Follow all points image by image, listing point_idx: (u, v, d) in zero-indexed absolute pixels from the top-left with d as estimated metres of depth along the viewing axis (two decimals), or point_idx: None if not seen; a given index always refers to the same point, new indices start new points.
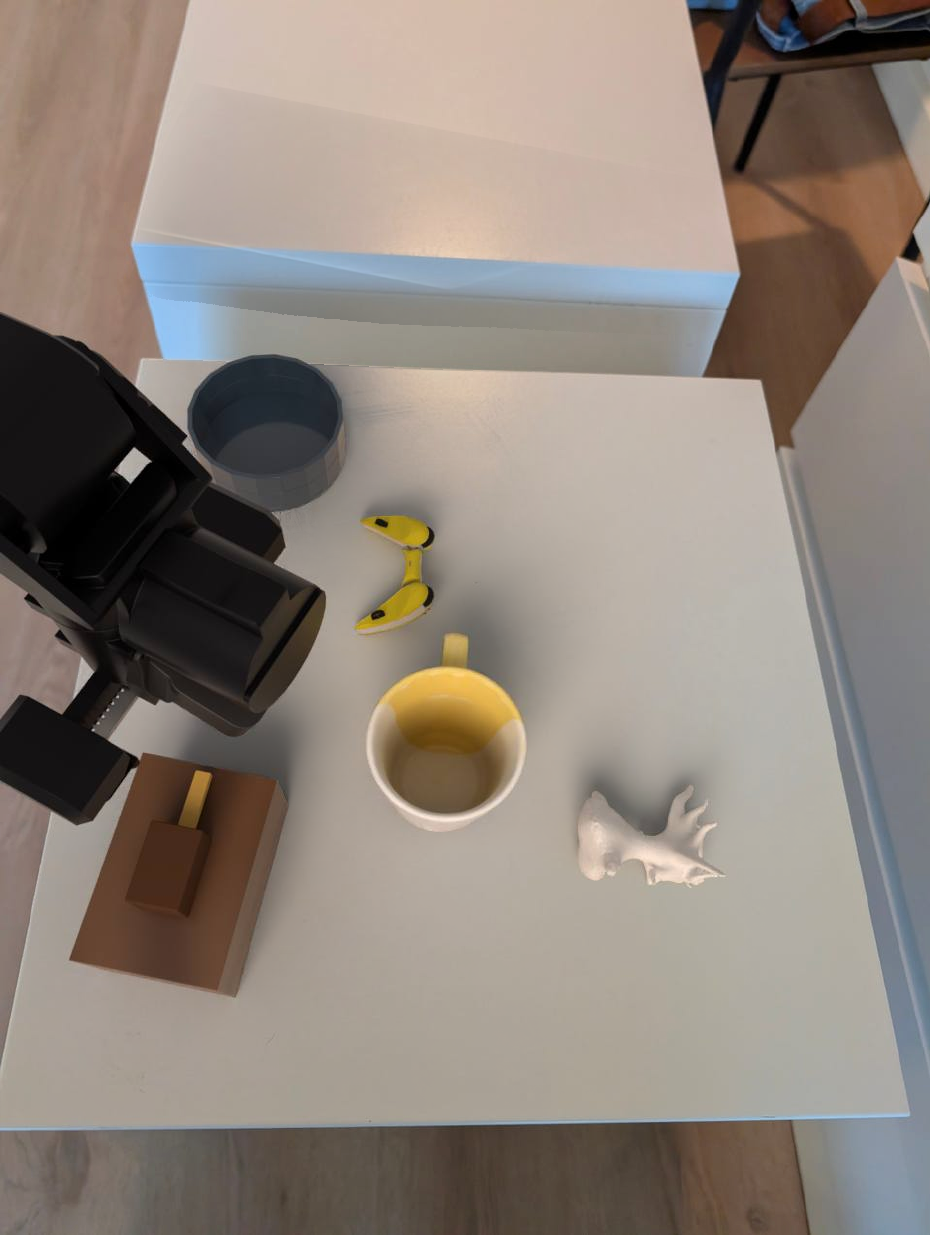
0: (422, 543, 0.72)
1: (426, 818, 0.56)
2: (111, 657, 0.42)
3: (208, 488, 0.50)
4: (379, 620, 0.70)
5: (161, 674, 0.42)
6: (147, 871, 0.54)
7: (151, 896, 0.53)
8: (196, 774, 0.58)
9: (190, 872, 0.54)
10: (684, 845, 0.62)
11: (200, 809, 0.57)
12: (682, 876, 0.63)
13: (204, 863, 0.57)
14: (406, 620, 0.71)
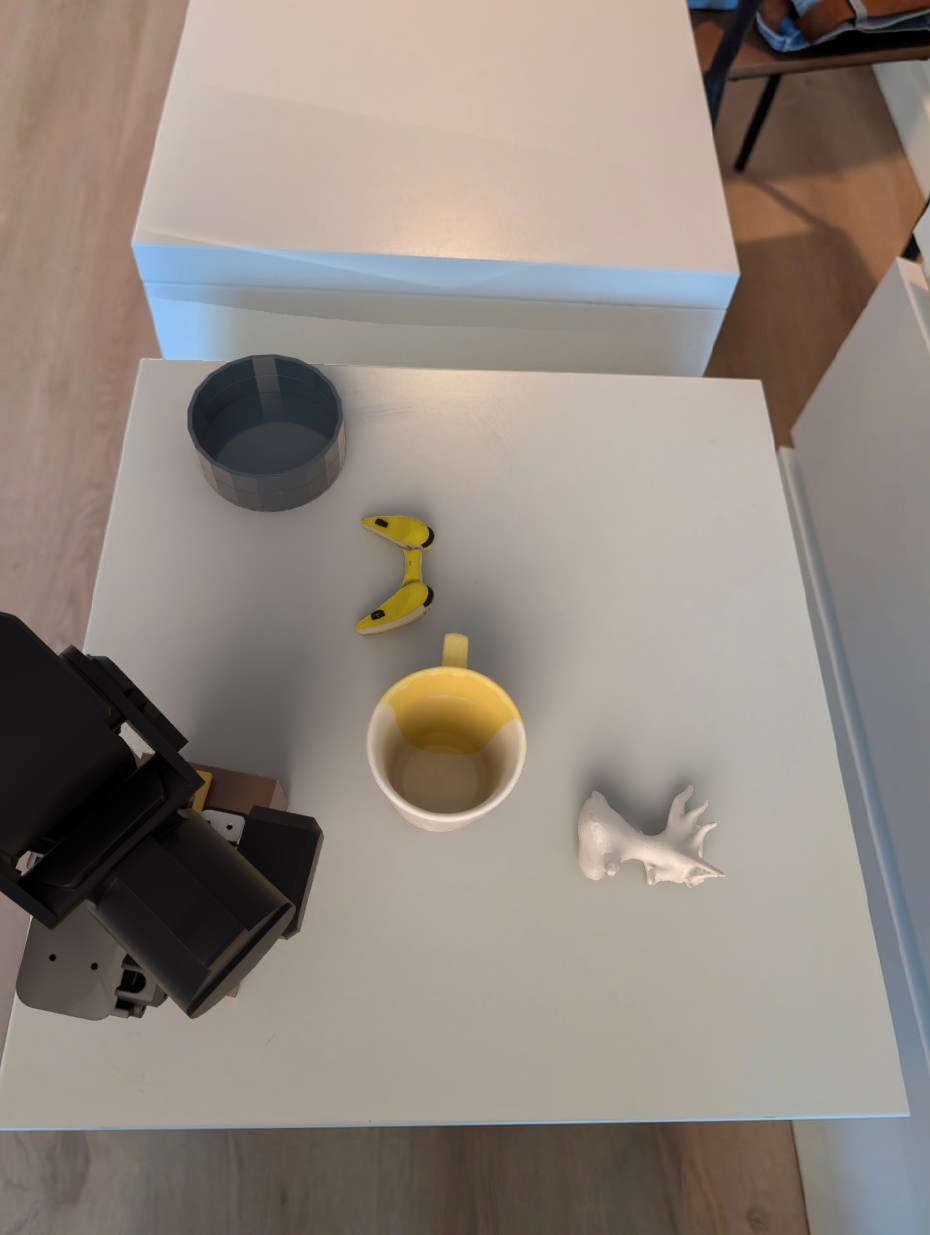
0: (422, 543, 0.72)
1: (426, 818, 0.56)
2: None
3: (302, 844, 0.47)
4: (379, 620, 0.70)
5: None
6: None
7: None
8: None
9: None
10: (684, 845, 0.62)
11: (200, 809, 0.57)
12: (682, 876, 0.63)
13: None
14: (406, 620, 0.71)
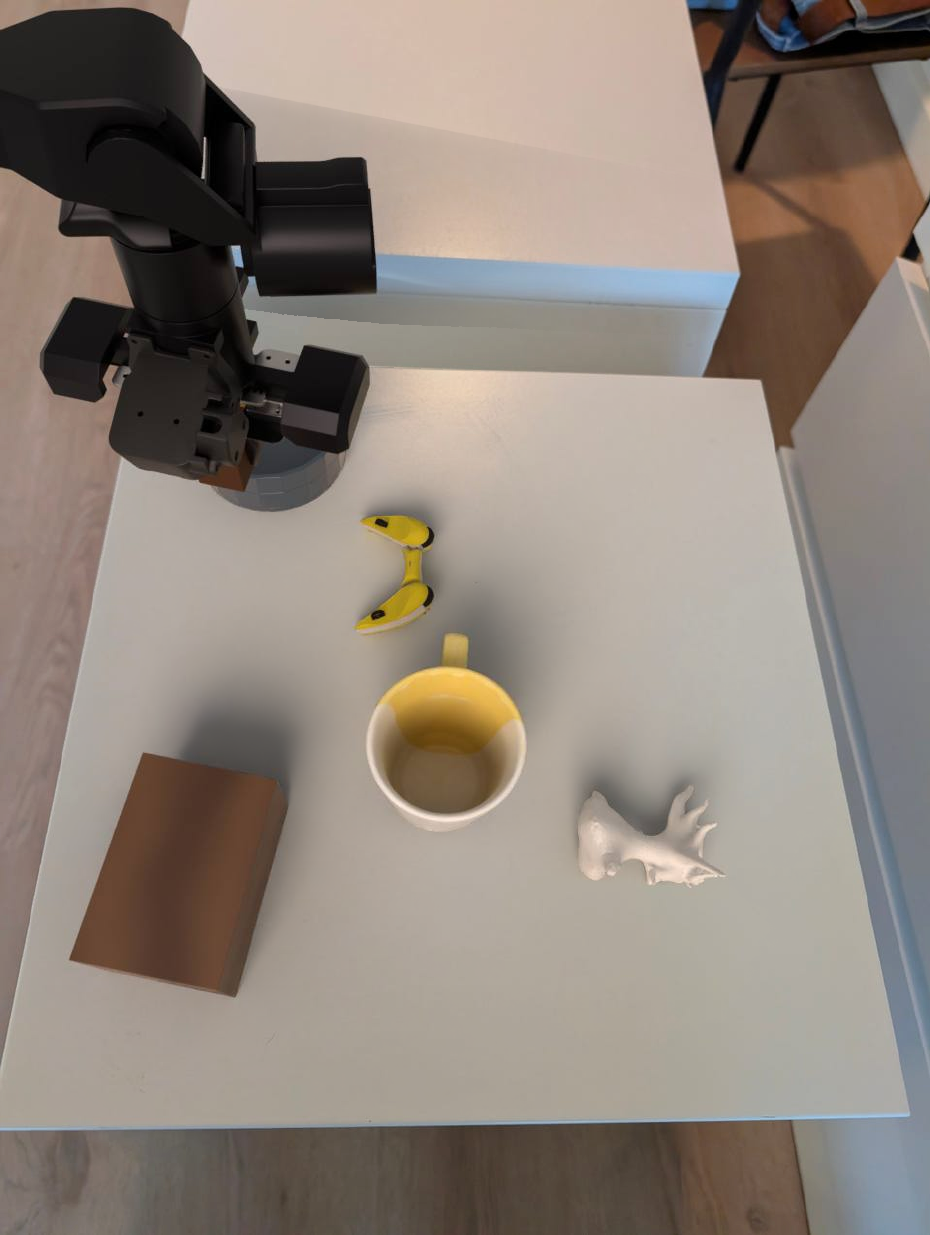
0: (422, 543, 0.72)
1: (426, 818, 0.56)
2: None
3: (352, 366, 0.54)
4: (379, 620, 0.70)
5: (133, 366, 0.50)
6: None
7: None
8: None
9: None
10: (684, 845, 0.62)
11: None
12: (682, 876, 0.63)
13: None
14: (406, 620, 0.71)
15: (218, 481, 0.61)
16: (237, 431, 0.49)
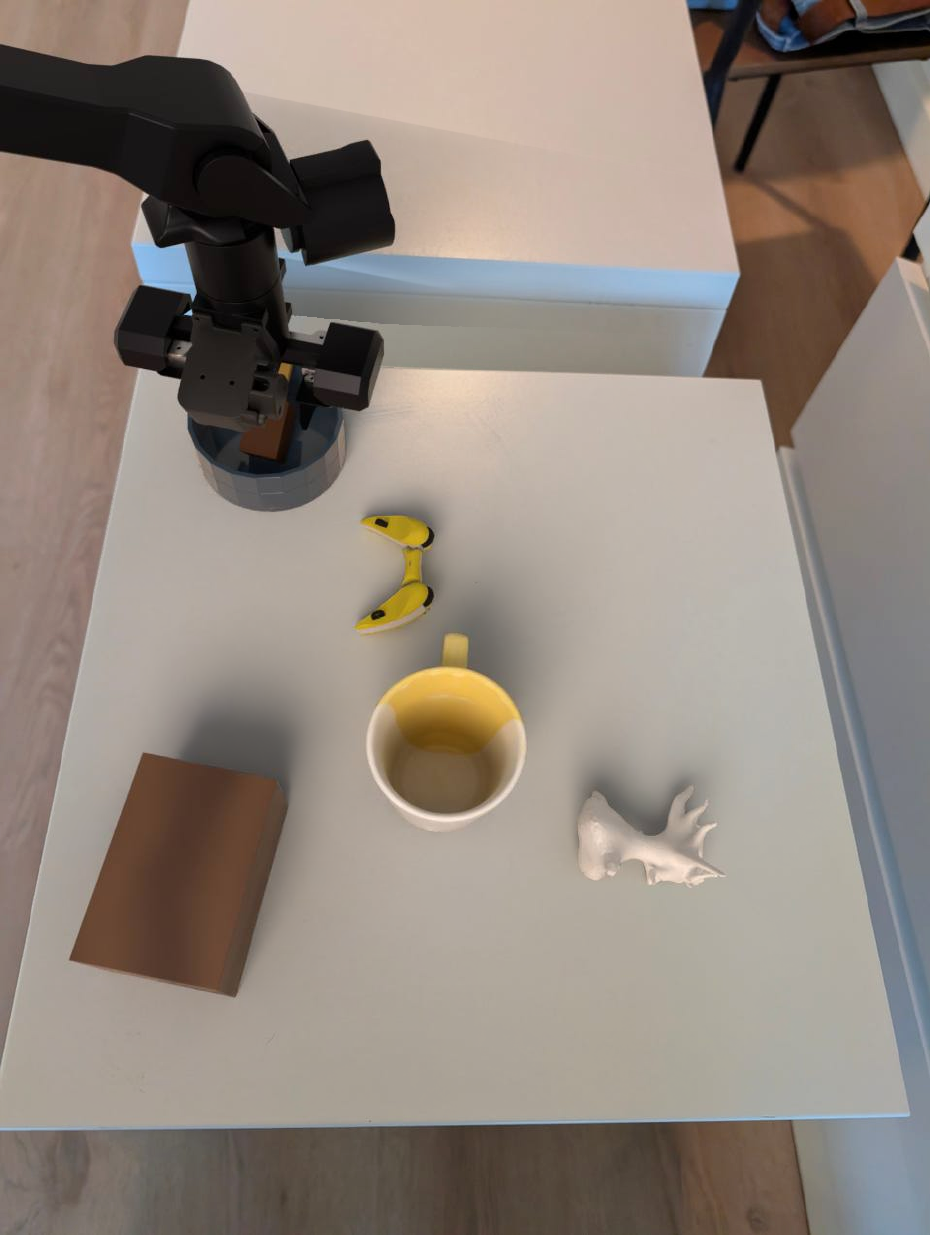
0: (422, 543, 0.72)
1: (426, 818, 0.56)
2: None
3: (370, 338, 0.66)
4: (379, 620, 0.70)
5: (196, 339, 0.62)
6: (252, 430, 0.74)
7: (256, 448, 0.75)
8: None
9: (282, 432, 0.75)
10: (684, 845, 0.62)
11: None
12: (682, 876, 0.63)
13: (293, 425, 0.77)
14: (406, 620, 0.71)
15: (263, 458, 0.77)
16: (281, 390, 0.61)
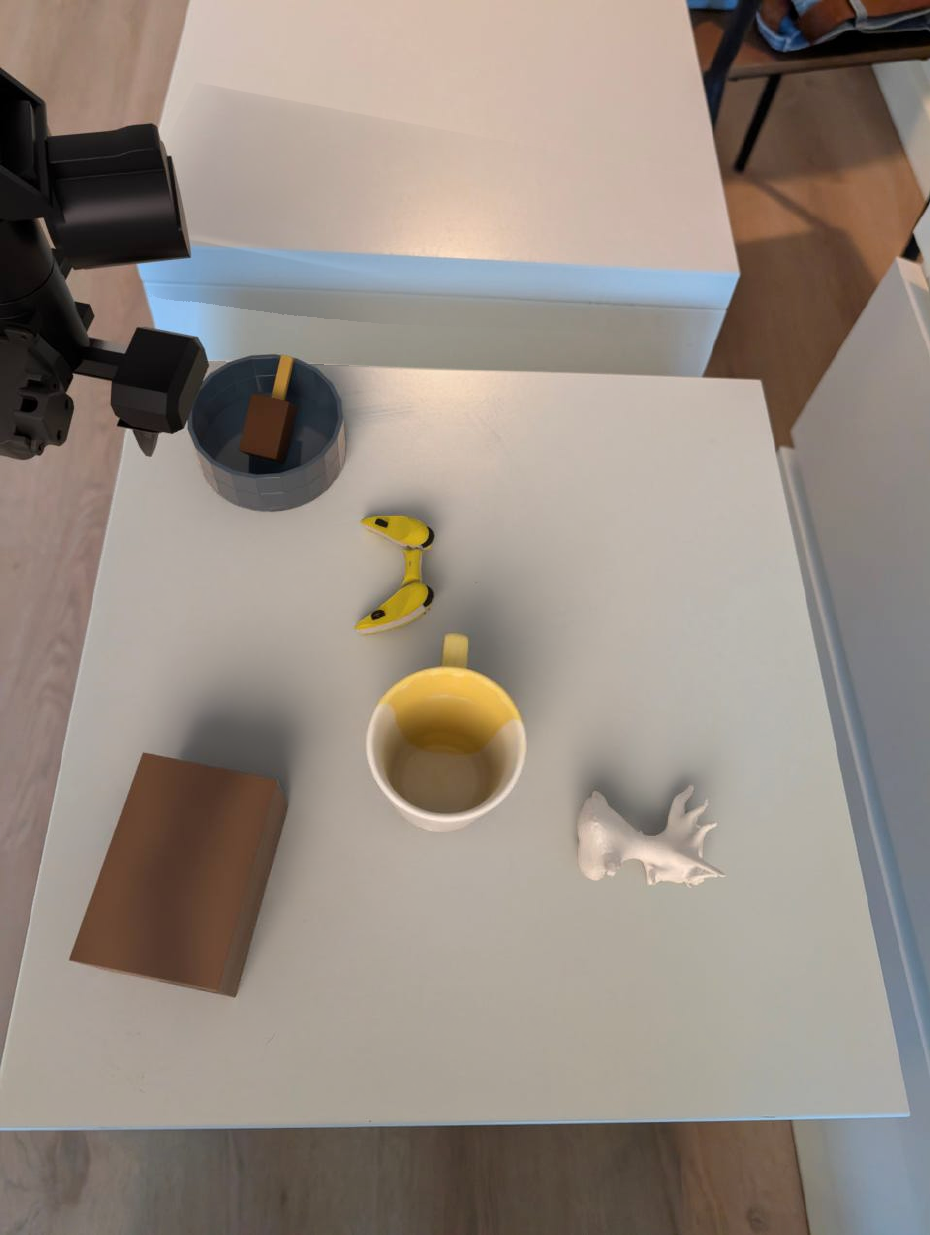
0: (422, 543, 0.72)
1: (426, 818, 0.56)
2: None
3: (184, 347, 0.55)
4: (379, 620, 0.70)
5: None
6: (252, 430, 0.74)
7: (256, 448, 0.75)
8: (281, 358, 0.76)
9: (282, 432, 0.75)
10: (684, 845, 0.62)
11: (287, 385, 0.76)
12: (682, 876, 0.63)
13: (293, 425, 0.77)
14: (406, 620, 0.71)
15: (263, 458, 0.77)
16: (57, 410, 0.50)
